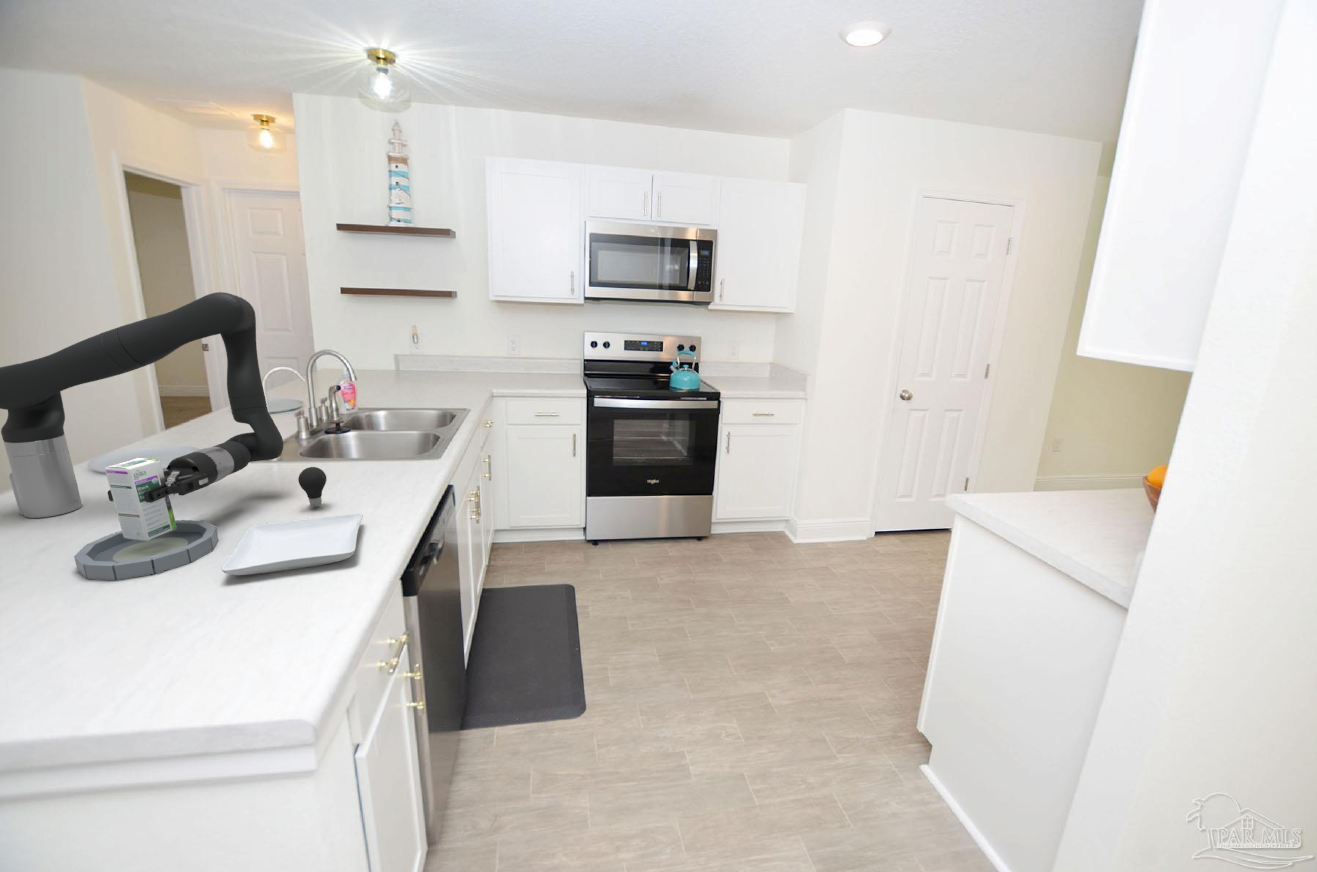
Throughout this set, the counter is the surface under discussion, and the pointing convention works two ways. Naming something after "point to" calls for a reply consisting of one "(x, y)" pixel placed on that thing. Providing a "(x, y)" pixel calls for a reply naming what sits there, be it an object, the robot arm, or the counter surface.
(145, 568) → the round tray
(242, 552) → the salad plate
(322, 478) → the light bulb
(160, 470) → the syrup box
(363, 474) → the counter surface
